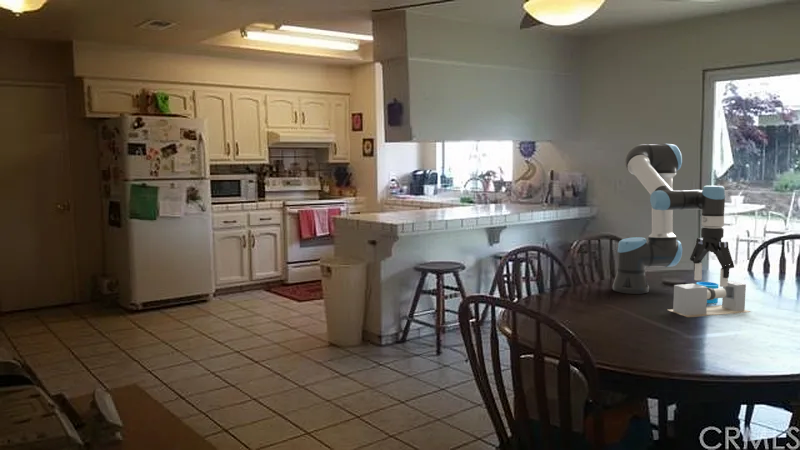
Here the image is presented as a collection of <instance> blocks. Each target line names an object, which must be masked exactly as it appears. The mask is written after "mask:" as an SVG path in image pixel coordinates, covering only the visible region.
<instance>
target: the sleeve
mask: <svg viewBox="0 0 800 450" xmlns="http://www.w3.org/2000/svg"><path fill="white" fill-rule="evenodd" d="M707 288H708V287H705V286H701V285H697V284H696V283H685V284H673V306H672V307H673V308H672V309H673V311H675V312H677V313H680V314H683V315H697V314H706V311H707V306H708V303H707ZM677 313H676V314H677ZM680 314H679V315H680ZM683 315H682V316H683Z"/></svg>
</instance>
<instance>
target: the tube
mask: <svg viewBox="0 0 800 450" xmlns="http://www.w3.org/2000/svg"><path fill="white" fill-rule="evenodd" d="M724 297H726V290H725V289H724V288H723V287H718V289H712V288H707V300H713V299H714V298H718V299H722V298H724Z"/></svg>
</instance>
